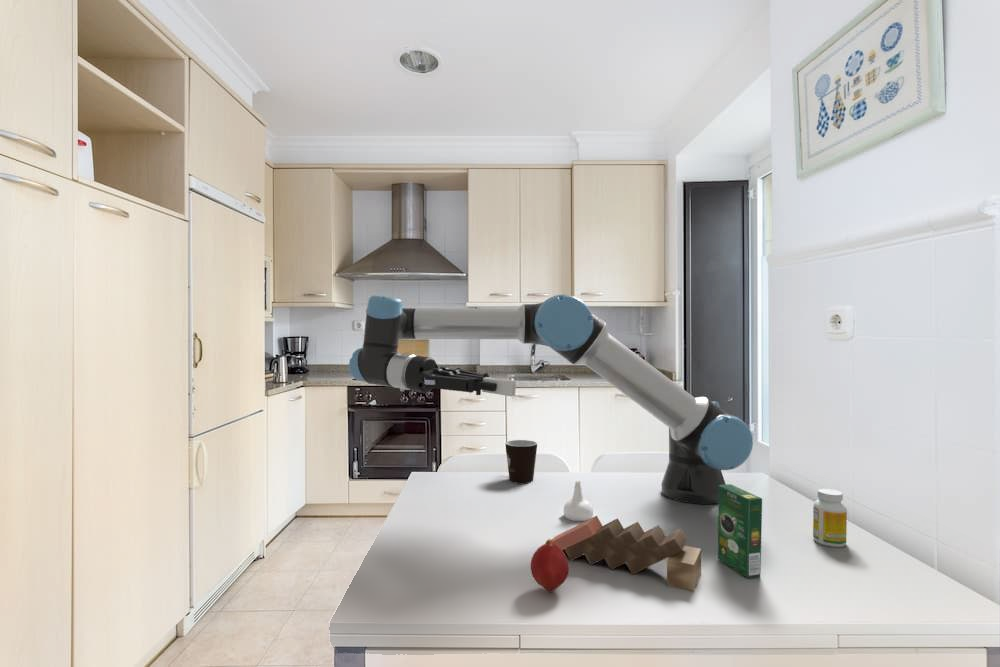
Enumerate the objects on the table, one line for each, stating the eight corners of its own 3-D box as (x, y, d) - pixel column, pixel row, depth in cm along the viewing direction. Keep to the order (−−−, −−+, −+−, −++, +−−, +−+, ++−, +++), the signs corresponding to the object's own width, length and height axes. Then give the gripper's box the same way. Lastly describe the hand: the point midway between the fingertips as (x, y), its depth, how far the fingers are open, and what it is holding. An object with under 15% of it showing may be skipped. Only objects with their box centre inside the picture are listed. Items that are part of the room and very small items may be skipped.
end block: (667, 585, 83) (667, 559, 83) (675, 568, 89) (675, 544, 89) (693, 591, 81) (693, 564, 81) (701, 573, 87) (701, 548, 87)
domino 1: (544, 545, 95) (587, 524, 91) (555, 536, 99) (596, 515, 95) (550, 556, 94) (593, 535, 90) (560, 546, 98) (602, 526, 95)
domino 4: (604, 558, 89) (651, 534, 85) (613, 548, 94) (658, 525, 90) (611, 569, 89) (658, 546, 85) (619, 558, 93) (665, 536, 89)
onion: (528, 583, 84) (528, 532, 84) (564, 581, 84) (564, 531, 84) (533, 601, 78) (533, 546, 78) (572, 599, 79) (572, 545, 79)
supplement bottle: (806, 539, 102) (807, 489, 102) (824, 535, 104) (824, 486, 104) (835, 550, 97) (835, 497, 97) (853, 545, 99) (853, 493, 99)
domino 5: (625, 562, 87) (674, 538, 84) (633, 552, 92) (680, 528, 88) (632, 574, 87) (681, 550, 83) (640, 563, 91) (687, 539, 87)
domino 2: (564, 550, 93) (608, 527, 89) (575, 540, 97) (617, 518, 93) (571, 560, 92) (615, 538, 88) (581, 550, 96) (623, 528, 93)
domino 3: (584, 554, 91) (629, 530, 87) (594, 544, 95) (637, 521, 91) (590, 565, 90) (636, 542, 87) (600, 554, 95) (644, 532, 91)
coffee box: (763, 578, 86) (763, 496, 86) (748, 580, 85) (748, 498, 85) (731, 557, 93) (731, 483, 93) (716, 559, 93) (716, 484, 93)
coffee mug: (535, 485, 138) (535, 447, 138) (502, 483, 140) (502, 445, 140) (540, 474, 150) (540, 438, 150) (510, 472, 151) (510, 437, 151)
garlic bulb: (576, 513, 119) (573, 476, 119) (599, 517, 114) (596, 479, 115) (558, 519, 114) (555, 482, 115) (581, 524, 110) (578, 485, 110)
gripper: (430, 385, 119) (526, 402, 108) (393, 395, 107) (497, 414, 97) (432, 352, 118) (529, 365, 108) (395, 358, 107) (499, 374, 96)
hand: (513, 389), depth 102 cm, fingers closed
